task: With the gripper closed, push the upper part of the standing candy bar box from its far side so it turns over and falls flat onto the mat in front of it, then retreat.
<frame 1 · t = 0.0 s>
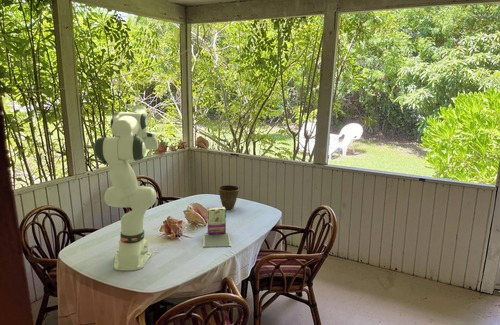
hand: (140, 156, 207), 48 cm above the table, fingers open, 8 cm apart
candy bar box: (216, 233, 220), on the table
mat: (216, 240, 209), on the table
plant pot: (228, 208, 263), on the table
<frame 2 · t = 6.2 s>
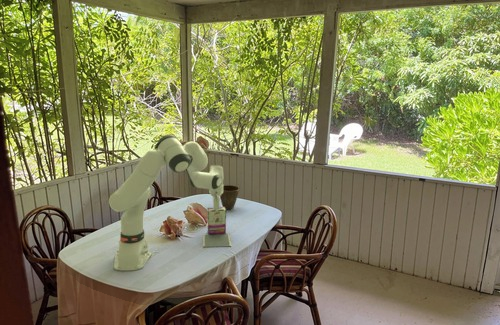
hand: (215, 210, 221), 13 cm above the table, fingers closed
candy bar box: (216, 233, 220), on the table, touching gripper
everything else where it was.
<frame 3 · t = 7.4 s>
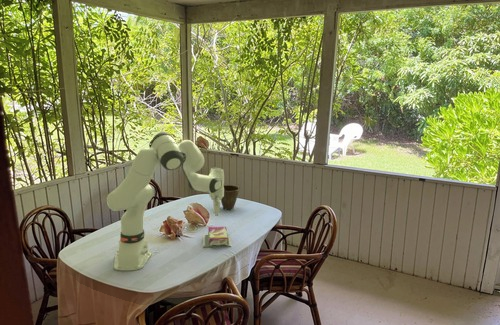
hand: (216, 214, 214), 13 cm above the table, fingers closed
candy bar box: (216, 229, 217), point 3 cm above the table, touching mat
everything else where it was.
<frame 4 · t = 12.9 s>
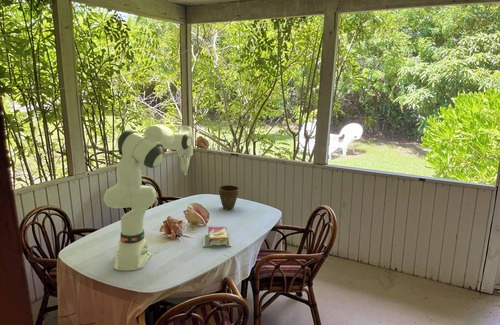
hand: (185, 174, 212), 37 cm above the table, fingers closed
nothing on the table moved.
at the end: candy bar box tilted 91°; candy bar box inside the target area on the mat (8.4 cm from its centre), point 2.9 cm above the mat's base; the gripper is holding nothing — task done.
